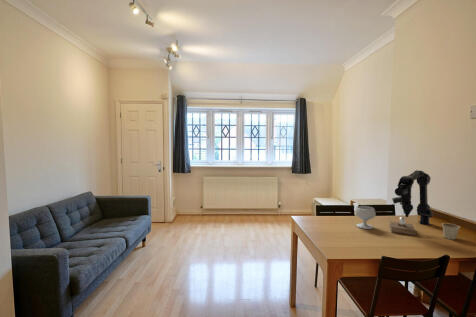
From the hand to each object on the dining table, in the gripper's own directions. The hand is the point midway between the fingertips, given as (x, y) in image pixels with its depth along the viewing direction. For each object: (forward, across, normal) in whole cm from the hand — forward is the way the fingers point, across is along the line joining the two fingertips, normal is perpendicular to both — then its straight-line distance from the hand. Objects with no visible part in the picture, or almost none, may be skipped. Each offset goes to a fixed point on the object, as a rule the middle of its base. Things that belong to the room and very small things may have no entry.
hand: (405, 215), depth 176 cm
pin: (+11, +1, -2) cm, 11 cm away
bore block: (+12, +1, -2) cm, 12 cm away
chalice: (+12, +4, -26) cm, 29 cm away
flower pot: (+12, +2, +25) cm, 28 cm away
